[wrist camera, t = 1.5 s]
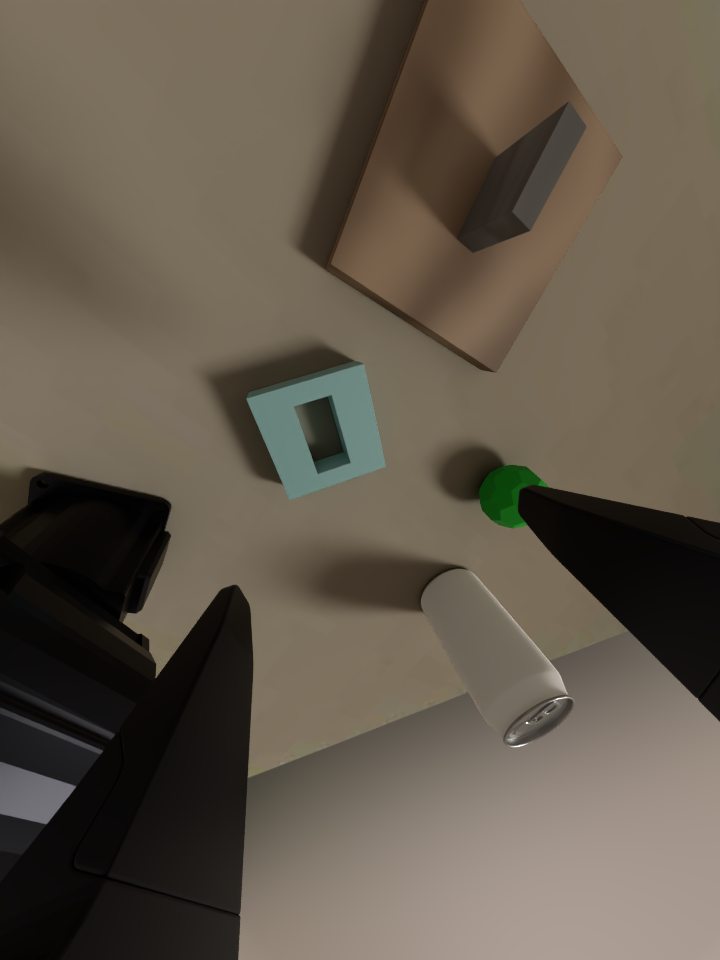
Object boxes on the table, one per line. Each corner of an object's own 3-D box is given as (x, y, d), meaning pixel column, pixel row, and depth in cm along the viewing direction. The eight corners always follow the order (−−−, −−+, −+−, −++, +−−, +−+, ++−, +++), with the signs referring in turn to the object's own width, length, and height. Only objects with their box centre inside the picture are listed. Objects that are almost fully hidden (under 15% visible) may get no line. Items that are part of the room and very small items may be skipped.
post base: (325, 269, 16) (351, 242, 11) (440, -44, 12) (553, -290, 7) (481, 370, 21) (545, 381, 16) (595, 169, 17) (722, 107, 12)
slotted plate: (288, 486, 20) (289, 500, 19) (248, 392, 17) (246, 398, 15) (376, 455, 21) (385, 466, 19) (354, 360, 18) (363, 363, 16)
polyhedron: (484, 451, 24) (529, 475, 20) (526, 462, 26) (576, 487, 21) (458, 503, 26) (495, 536, 21) (499, 511, 27) (540, 542, 23)
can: (406, 599, 29) (482, 746, 19) (453, 555, 28) (561, 684, 18) (441, 620, 32) (523, 755, 22) (485, 581, 31) (591, 703, 21)
